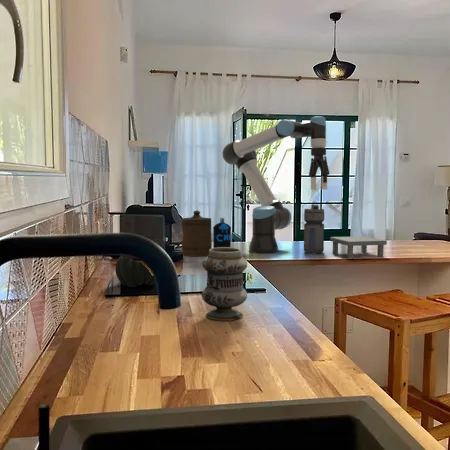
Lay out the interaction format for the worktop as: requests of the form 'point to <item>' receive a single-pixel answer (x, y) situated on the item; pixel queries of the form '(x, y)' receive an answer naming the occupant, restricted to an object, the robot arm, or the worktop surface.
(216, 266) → the apothecary jar
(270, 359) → the worktop surface
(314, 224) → the beverage bottle
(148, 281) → the squash
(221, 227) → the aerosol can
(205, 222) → the wooden container
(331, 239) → the stool
